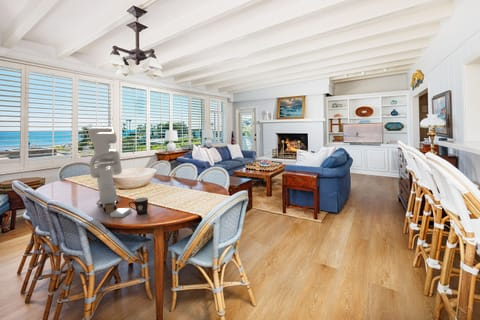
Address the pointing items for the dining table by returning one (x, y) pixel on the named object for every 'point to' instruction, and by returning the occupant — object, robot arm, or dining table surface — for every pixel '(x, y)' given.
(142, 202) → the coffee mug
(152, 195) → the dining table surface
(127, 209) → the trivet
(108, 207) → the walnut block
